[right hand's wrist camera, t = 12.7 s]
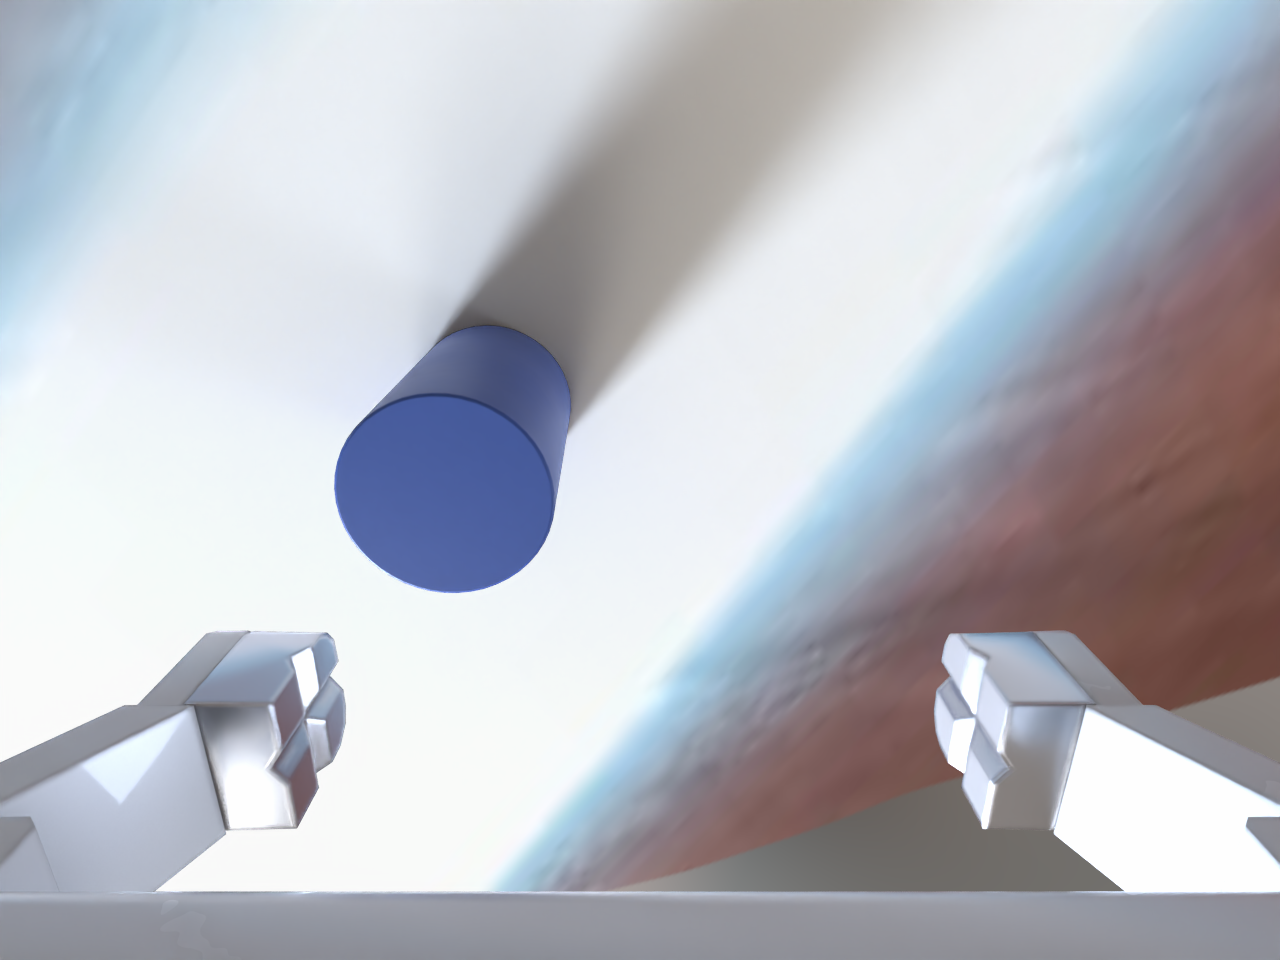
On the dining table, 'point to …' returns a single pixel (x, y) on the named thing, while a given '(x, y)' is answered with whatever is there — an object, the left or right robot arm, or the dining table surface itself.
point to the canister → (459, 463)
